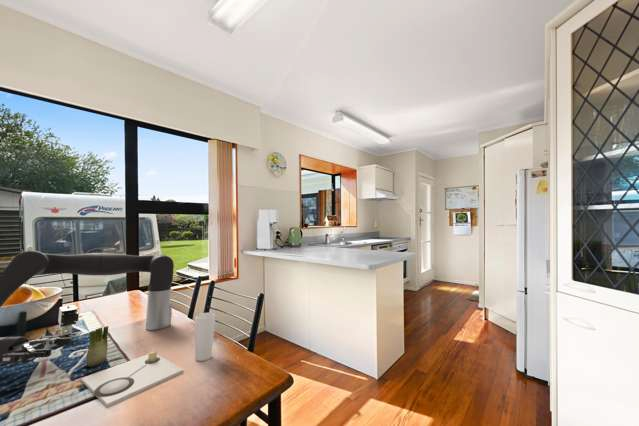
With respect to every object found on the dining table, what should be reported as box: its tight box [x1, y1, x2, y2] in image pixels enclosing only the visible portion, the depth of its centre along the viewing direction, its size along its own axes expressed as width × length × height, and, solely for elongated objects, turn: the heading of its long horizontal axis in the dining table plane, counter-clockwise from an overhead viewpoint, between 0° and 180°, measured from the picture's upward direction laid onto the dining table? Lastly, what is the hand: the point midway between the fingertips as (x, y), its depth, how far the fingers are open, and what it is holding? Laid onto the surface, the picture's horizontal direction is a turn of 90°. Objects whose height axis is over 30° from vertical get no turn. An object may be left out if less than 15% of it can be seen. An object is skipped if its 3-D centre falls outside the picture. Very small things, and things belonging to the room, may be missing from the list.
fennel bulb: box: [85, 325, 109, 368], centre depth 87 cm, size 6×5×12 cm
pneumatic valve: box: [57, 304, 80, 337], centre depth 111 cm, size 6×12×12 cm, turn 50°
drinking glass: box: [194, 312, 216, 362], centre depth 93 cm, size 7×7×15 cm
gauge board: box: [80, 350, 184, 408], centre depth 80 cm, size 20×20×3 cm
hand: (61, 346), depth 85 cm, fingers open, 8 cm apart
